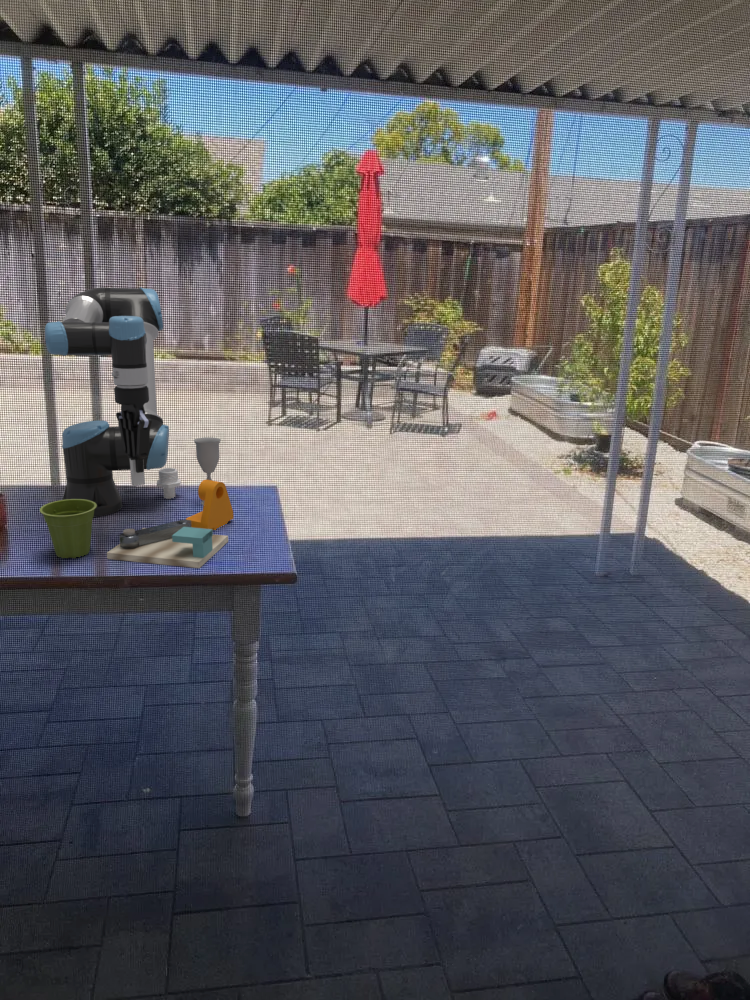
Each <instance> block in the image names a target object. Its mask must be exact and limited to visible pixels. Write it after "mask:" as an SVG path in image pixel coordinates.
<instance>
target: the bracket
mask: <svg viewBox="0 0 750 1000" xmlns="http://www.w3.org/2000/svg"><path fill="white" fill-rule="evenodd" d="M197 494H198V495H197V496H198V499H200V500H201V501H202V500H203V501H204V505H202V506H203V508H202V511H200V512H197V513H195V514H192V515H190V516H189V517H186V518H185V520H190V521H191V526H192V527H193V528H203V529H213V530H215V531H216V529H217V528H219V527H221V526H223V525H225V524H227V523H228V522H229V521H231V520H234V518H235V517H234V510H233V506H232V503H231V500H230V497H229V492H228V489H227V487H226V484H225V483H224V482H222V481H217V480H213V479H212V480H206V479H203V480H201V482H200V483H199V485H198V489H197ZM227 525H228V524H227ZM225 526H226V525H225ZM223 527H224V526H223ZM221 528H222V527H221ZM219 529H220V528H219ZM217 530H218V529H217Z"/></svg>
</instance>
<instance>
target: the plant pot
mask: <svg viewBox="0 0 750 1000" xmlns="http://www.w3.org/2000/svg"><path fill="white" fill-rule="evenodd" d="M96 507H97V504H96V503H95V502H93V501H90V500H85V499H66V500H63V499H59V500H56V501H52V502H48V503H46V504H43V505H42V506H41V507H40V508H39V512H40V514H42V516H43V519H44V521H45V523H46V525H47V528H48V531H49V532H48V533H49V535H50V539H51V542H52V545H53V549H54V552H55V555H56V557H58V558H60V557H61V558H60V559H64V558H67V559H68V558H72V559H77V558H76V557H79V558H81V557H80V556H82V557H85V556H86V555H88V554H89V553H90V550H91V542H92V529H93V521H94V520H93V519H94V518H95V517H94V509H95V508H96ZM84 555H85V556H84Z"/></svg>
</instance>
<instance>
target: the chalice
mask: <svg viewBox="0 0 750 1000" xmlns="http://www.w3.org/2000/svg"><path fill="white" fill-rule="evenodd" d="M221 441H222V440H221V438H218V437H213V436H211V437H209V436H207V437H205V436H204V437H198V438H194V439H193V442H194V444H195V453H196V454H195V455H196V459H197V462H198V464H199V467H200V469H201V470H202V472H203V473H205V474H206V479H205V480H212V481H213V479H212V476H211V475H212V473H214V472H215V471H216V468H217V465H218V464H219V460H220V443H221ZM200 504H202V505H201V506H204V501H203V500H201V502H200Z"/></svg>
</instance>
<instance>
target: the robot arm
mask: <svg viewBox="0 0 750 1000" xmlns="http://www.w3.org/2000/svg"><path fill="white" fill-rule="evenodd" d="M64 312H65V314H64V315H65V316H64V318H63V320H62V321H59V320H58V321H52V322H47V323H46V324H45V327H44V338H45V346H46V350H47V352H48V354H50V355H54V356H111V362H112V363H111V364H112V365H111V367H112V372H111V376H112V377H113V378H112V379H113V385H115V386H114V388H113V391H114V402H115V403H116V404H118V405H120V411H119V412H116V414H115V417H116V419H117V423H118V426H110V424H109V422H108V421H107V420H98V419H97V420H89V421H83V422H79V423H76V424H72V425H69V426H67V427H66V428H65V429H64V430H63V431H62V433H61V436H62V437H61V438H62V445H61V448H62V451H63V459H64V460H63V461H64V468H65V469H64V471H65V478H66V480H65V481H66V482H65V483H66V485H65V488H64V493H63V496H62V500H66V499H85V500H90V501H93V502H95V503H96V504H97V507H96V508H95V509H94V517H93V518H95V517H105V516H107V515H111V514H114V513H116V512H119V511H120V510H122V508H123V499H122V497H121V494H120V492H119V489H118V487H117V485H116V483H115V481H114V475H113V473H114V472H113V471H130V481H131V486H133V487H139V486H143V485H144V486H145V485H146V478H145V470H147V471H149V470H154V469H155V470H156V469H163V468H165V466H166V464H167V462H168V455H169V441H170V440H169V438H170V427H169V425H167V424H164V419H163V418H162V417H161V416H160V415H158V411H157V408H158V407H157V405H158V404H157V390H156V389H157V388H156V368H155V349H154V340H156V339H157V338H158V336H159V332H161V331H162V330H164V320H163V314H162V309H161V301H160V299H159V295H158V293H157V291H156V290H155V289H153V288H145V287H144V288H143V287H138V288H137V287H133V288H132V287H126V288H125V287H104V286H102V287H95V288H90V289H87V290H84V291H81V292H79V293H77V294H76V295H74V296H72V297H71V298H70V299H69V300H68V303H67V304H66V306H65V311H64Z"/></svg>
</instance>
